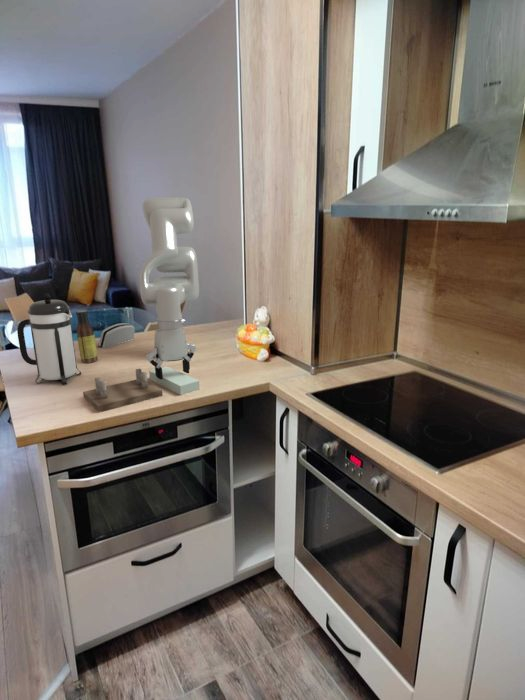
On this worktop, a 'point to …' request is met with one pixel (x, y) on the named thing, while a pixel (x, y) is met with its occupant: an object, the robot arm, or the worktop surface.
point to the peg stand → (121, 392)
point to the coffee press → (50, 340)
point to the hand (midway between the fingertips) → (173, 375)
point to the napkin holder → (116, 335)
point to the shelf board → (175, 381)
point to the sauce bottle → (86, 338)
